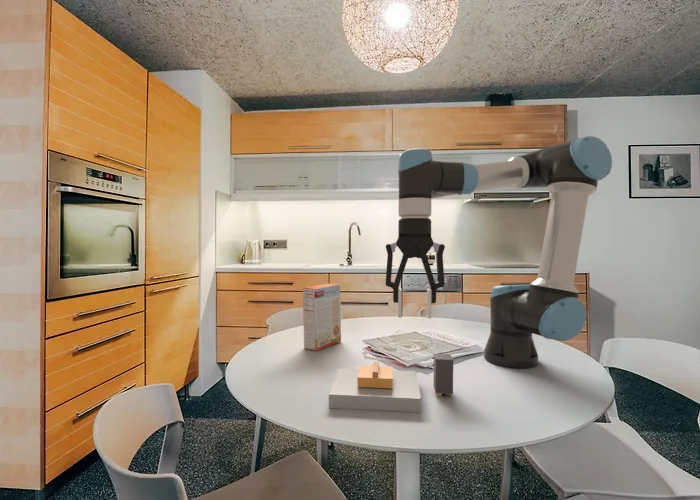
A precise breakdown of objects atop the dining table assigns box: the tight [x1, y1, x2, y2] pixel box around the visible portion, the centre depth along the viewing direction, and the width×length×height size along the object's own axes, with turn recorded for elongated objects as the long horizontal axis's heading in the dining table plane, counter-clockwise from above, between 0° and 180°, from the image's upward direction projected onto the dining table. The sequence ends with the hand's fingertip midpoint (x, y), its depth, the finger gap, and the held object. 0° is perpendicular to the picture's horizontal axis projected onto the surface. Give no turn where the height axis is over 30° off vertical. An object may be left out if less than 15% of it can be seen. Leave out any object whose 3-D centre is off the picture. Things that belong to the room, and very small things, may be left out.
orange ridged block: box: [358, 361, 394, 388], centre depth 87 cm, size 8×8×3 cm
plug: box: [433, 353, 454, 397], centre depth 87 cm, size 4×4×9 cm
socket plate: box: [328, 368, 422, 414], centre depth 87 cm, size 20×16×3 cm
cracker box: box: [302, 282, 342, 352], centre depth 126 cm, size 14×6×21 cm, turn 144°
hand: (414, 316), depth 85 cm, fingers open, 6 cm apart
